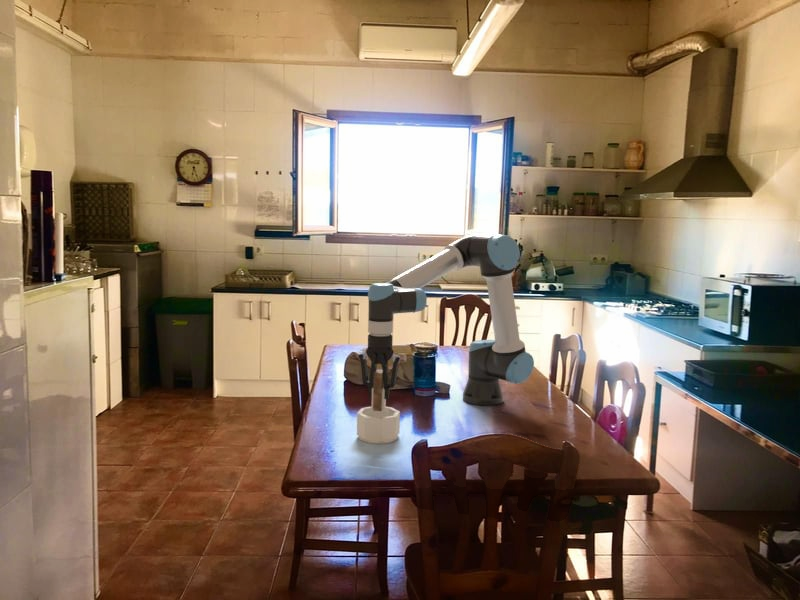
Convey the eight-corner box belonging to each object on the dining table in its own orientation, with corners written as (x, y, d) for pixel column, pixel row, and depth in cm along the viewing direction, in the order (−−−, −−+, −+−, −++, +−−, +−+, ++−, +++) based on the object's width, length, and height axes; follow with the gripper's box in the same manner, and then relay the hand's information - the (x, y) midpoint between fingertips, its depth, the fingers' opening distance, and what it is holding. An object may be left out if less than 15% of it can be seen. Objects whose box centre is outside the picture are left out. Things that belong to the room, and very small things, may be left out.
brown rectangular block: (384, 407, 204) (385, 369, 202) (380, 411, 200) (381, 373, 198) (376, 406, 205) (377, 369, 203) (372, 410, 200) (373, 372, 199)
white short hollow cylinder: (401, 432, 208) (402, 408, 207) (393, 445, 196) (393, 420, 195) (364, 428, 211) (364, 404, 210) (353, 441, 199) (353, 416, 198)
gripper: (407, 333, 201) (405, 407, 204) (359, 330, 204) (357, 402, 207) (402, 337, 194) (400, 414, 197) (352, 334, 197) (351, 409, 200)
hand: (378, 408), depth 202 cm, fingers closed on brown rectangular block, 2 cm apart
